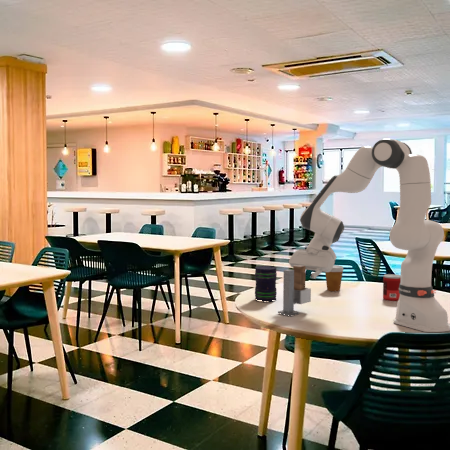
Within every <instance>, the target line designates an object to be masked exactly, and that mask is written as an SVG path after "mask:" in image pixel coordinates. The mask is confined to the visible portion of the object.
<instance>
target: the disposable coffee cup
mask: <svg viewBox="0 0 450 450" xmlns="http://www.w3.org/2000/svg"><path fill="white" fill-rule="evenodd" d="M343 272H344V266H342V265H340V264H339V265H338V264H337V265H336V264H334V266H333V268H332V270H331V271H330V272H324V273H325V283H326V290H327V291H328V292H341V285H342V281H343V280H342V279H343Z"/></svg>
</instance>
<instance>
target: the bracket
mask: <svg viewBox="0 0 450 450" xmlns="http://www.w3.org/2000/svg"><path fill="white" fill-rule="evenodd" d="M282 289H283V290H282V291H283V295H282V296H283V299H282V301H283V302H282V304H283V305H282V307H283V308H282V309H283V310H280V311H279V310H278V311H277V314H278V313H281V314H285V315H289V316H290V317H292V316H291V315H294V316H296V315H295V314H297V315H299V314H300V312H299V311H297V310H294V307H295V306H294V305H297V304H298V305H302V304H303V305H304V304H306V303H307V304H308V303H310V302H311V301H312V300H311V299H312V298H311V297H312V288H309V287H305V290H295V289H294V270H293V269H290V268H289V269H284V270H283V288H282ZM289 316H288V317H289Z"/></svg>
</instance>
